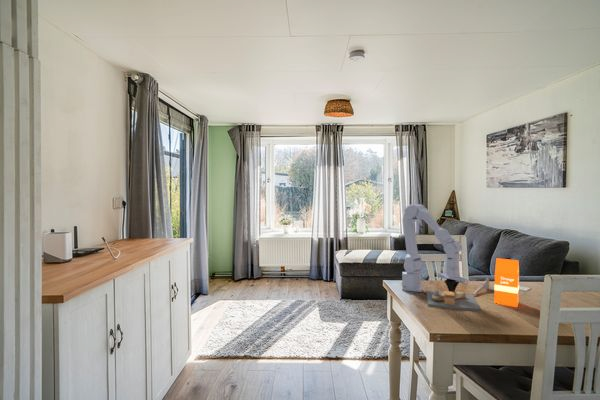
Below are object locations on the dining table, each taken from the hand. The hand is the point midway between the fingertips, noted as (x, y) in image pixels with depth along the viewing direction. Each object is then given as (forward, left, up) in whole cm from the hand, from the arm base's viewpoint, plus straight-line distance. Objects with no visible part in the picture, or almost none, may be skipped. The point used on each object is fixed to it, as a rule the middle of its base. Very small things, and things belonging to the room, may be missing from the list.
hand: (451, 295), depth 156 cm
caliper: (+15, +15, -2) cm, 22 cm away
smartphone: (+33, +32, -2) cm, 46 cm away
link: (-1, -4, 0) cm, 4 cm away
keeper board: (-1, -4, -2) cm, 4 cm away
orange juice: (+23, +2, -2) cm, 23 cm away
